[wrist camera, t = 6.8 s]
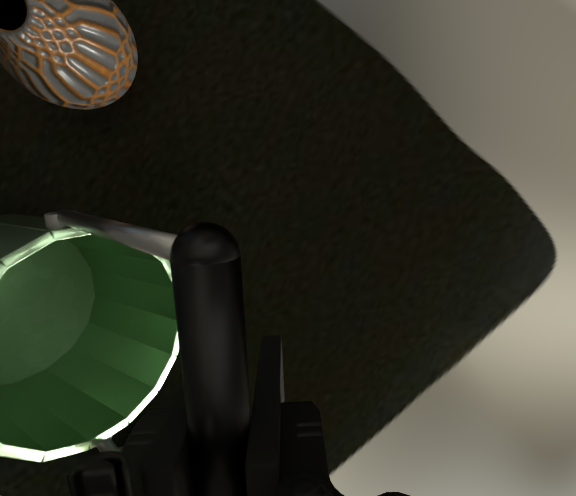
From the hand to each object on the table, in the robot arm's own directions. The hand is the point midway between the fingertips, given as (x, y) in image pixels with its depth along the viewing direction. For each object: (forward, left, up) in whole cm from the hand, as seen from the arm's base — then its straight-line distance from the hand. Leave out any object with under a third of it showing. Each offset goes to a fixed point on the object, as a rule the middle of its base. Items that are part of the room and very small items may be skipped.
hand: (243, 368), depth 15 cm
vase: (-15, -10, -14) cm, 23 cm away
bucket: (0, -16, -9) cm, 18 cm away
